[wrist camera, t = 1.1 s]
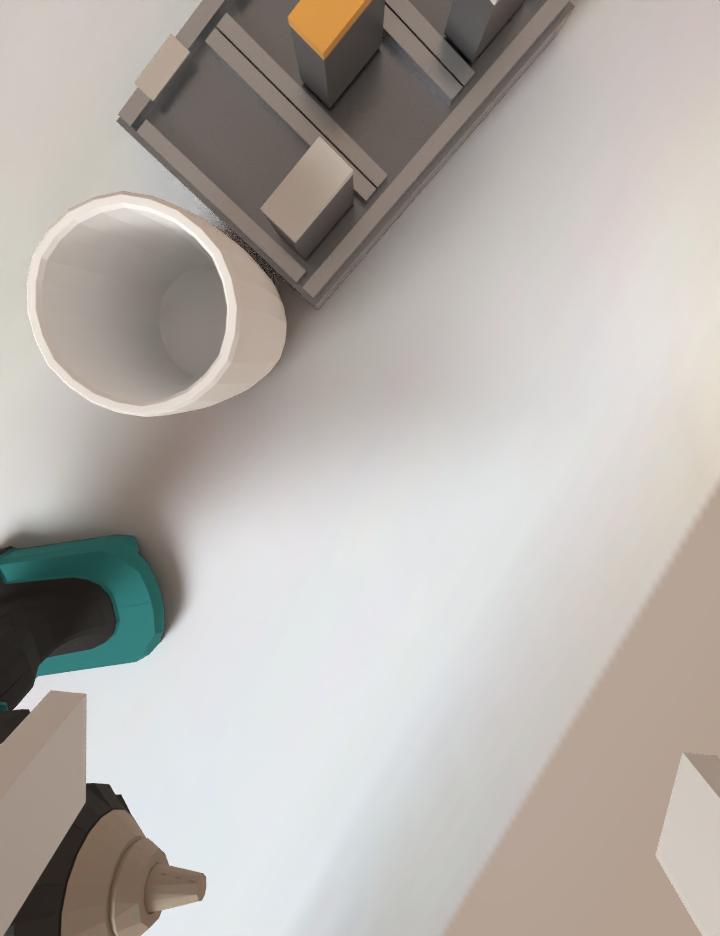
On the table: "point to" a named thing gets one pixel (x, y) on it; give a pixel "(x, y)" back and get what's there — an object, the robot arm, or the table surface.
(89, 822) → the power drill
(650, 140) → the table surface
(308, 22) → the block
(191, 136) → the panel
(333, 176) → the block
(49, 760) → the robot arm
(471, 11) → the block
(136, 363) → the cup
